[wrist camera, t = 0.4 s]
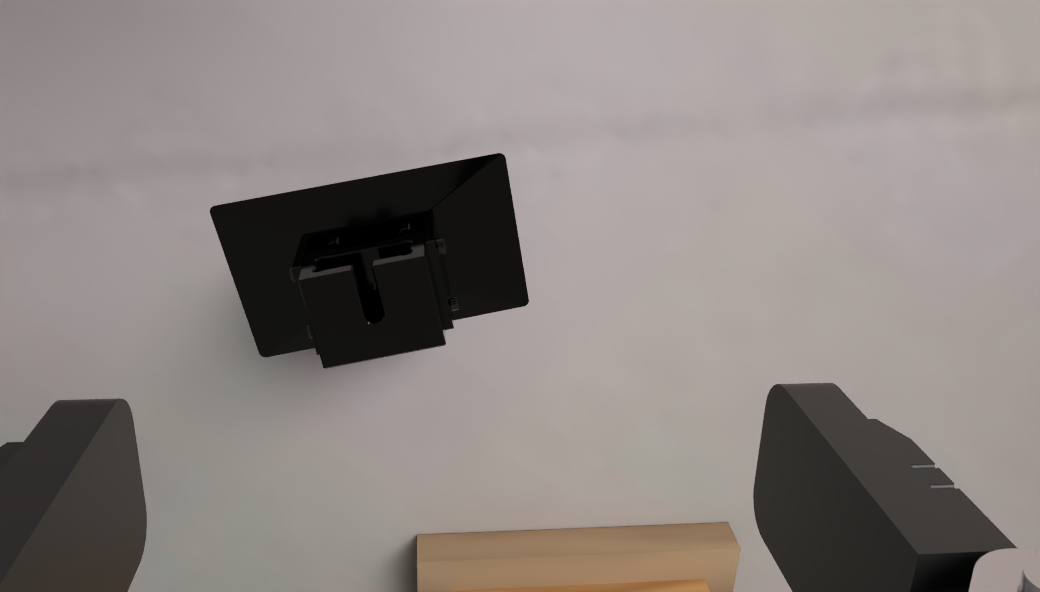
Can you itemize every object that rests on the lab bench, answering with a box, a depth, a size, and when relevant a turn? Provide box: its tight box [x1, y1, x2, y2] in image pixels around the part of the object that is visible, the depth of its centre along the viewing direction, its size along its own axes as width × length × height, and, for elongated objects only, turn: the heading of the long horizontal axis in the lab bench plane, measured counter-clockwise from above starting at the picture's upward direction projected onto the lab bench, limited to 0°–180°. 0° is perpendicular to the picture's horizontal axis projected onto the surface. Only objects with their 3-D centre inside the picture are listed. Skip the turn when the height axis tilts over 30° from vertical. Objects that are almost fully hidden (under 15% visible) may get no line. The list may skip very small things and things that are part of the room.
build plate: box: [210, 153, 529, 369], centre depth 28 cm, size 12×7×5 cm, turn 99°
